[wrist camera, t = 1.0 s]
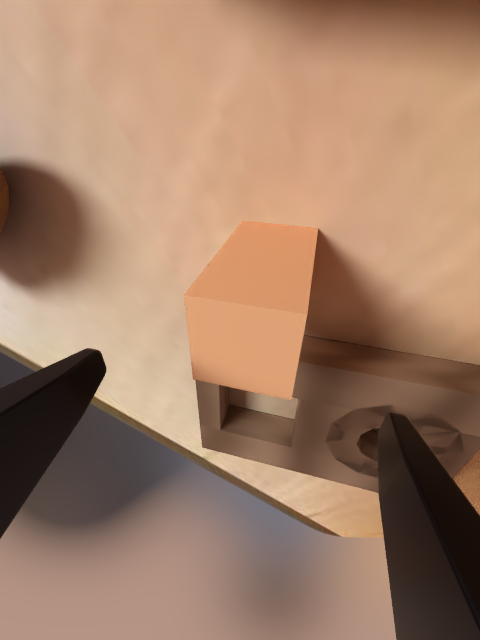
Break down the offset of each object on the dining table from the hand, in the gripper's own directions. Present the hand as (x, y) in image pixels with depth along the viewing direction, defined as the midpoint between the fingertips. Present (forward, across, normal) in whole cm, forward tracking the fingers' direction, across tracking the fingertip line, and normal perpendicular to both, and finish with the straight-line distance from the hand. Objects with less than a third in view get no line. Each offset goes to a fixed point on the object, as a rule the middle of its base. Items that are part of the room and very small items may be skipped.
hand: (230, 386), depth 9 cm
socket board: (+10, -4, +11) cm, 15 cm away
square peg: (+10, 0, 0) cm, 10 cm away
